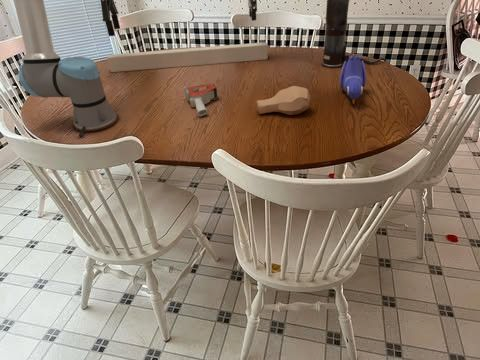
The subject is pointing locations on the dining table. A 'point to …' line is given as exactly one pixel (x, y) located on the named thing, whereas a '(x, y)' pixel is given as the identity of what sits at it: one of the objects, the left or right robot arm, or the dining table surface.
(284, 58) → the dining table surface
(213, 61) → the post
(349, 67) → the toy
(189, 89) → the tape dispenser
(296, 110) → the squash
